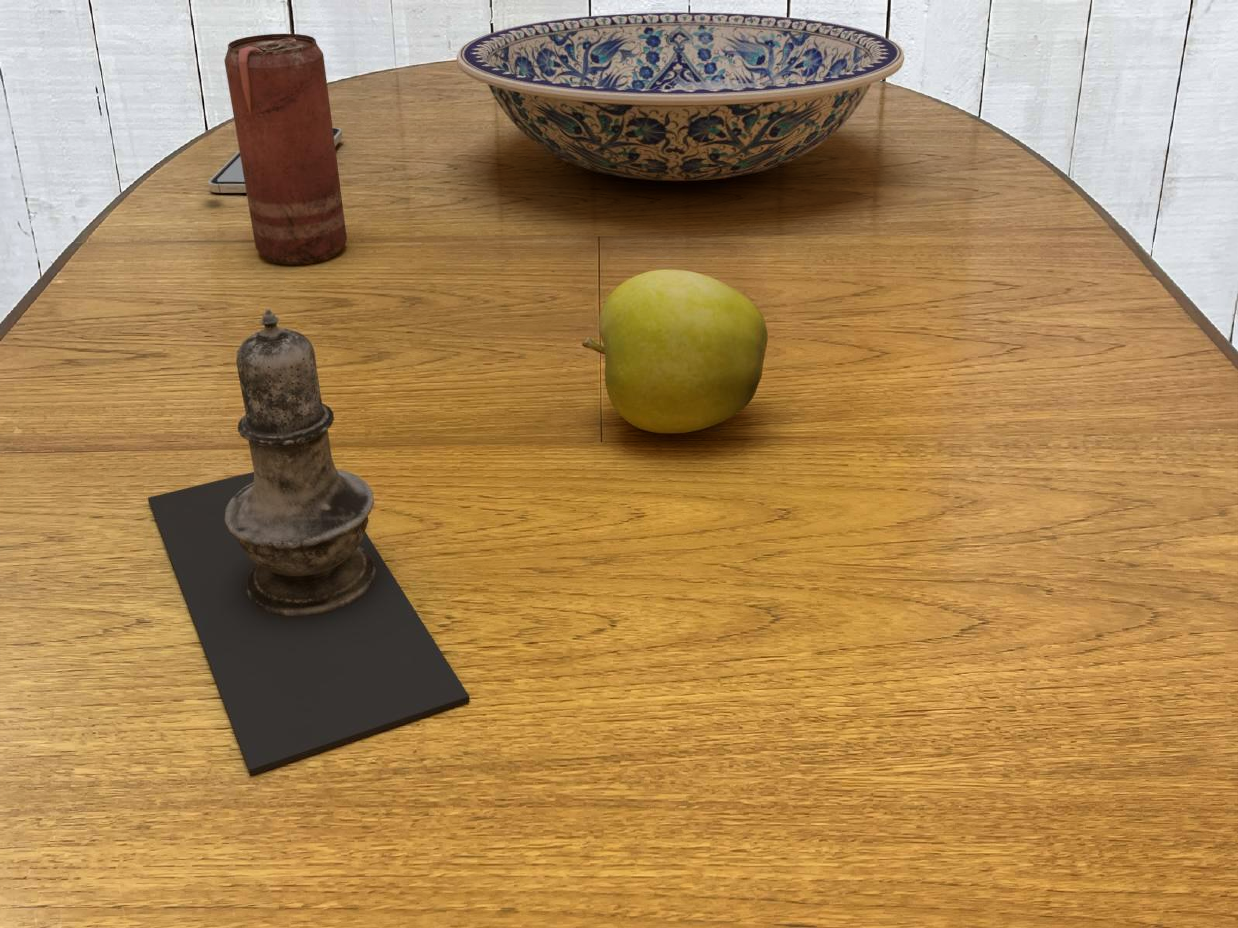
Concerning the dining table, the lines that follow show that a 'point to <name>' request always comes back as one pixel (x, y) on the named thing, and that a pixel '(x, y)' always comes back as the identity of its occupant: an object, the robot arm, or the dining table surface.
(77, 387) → the dining table surface
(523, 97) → the ceramic bowl
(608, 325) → the apple
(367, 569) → the salt shaker
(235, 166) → the smartphone
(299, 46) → the can
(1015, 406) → the dining table surface
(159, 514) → the black mat
